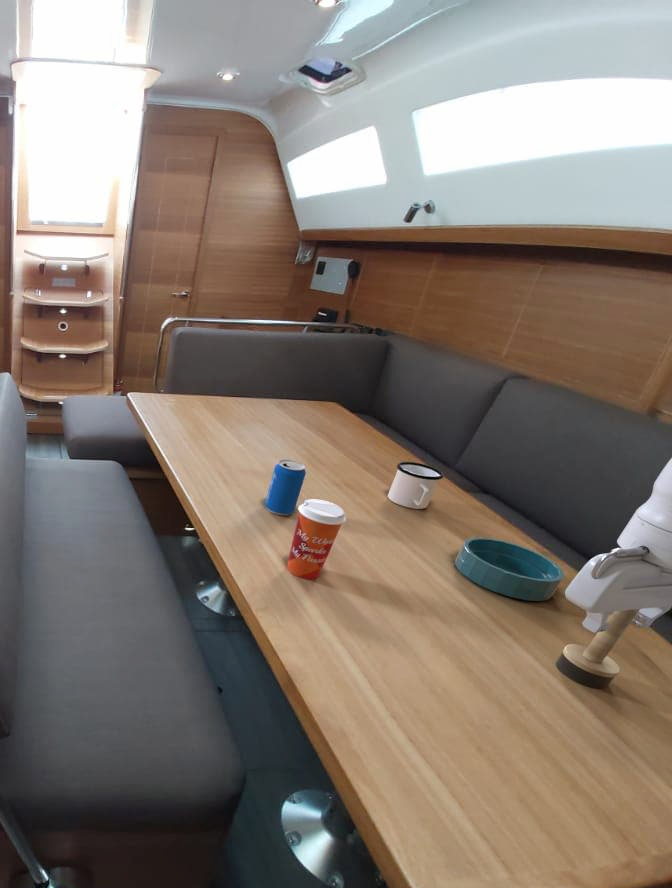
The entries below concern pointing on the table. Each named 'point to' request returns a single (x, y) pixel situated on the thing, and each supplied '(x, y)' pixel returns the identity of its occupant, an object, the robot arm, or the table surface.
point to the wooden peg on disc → (596, 654)
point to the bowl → (509, 569)
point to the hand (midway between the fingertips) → (614, 626)
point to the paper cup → (314, 537)
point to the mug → (414, 484)
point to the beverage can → (285, 487)
